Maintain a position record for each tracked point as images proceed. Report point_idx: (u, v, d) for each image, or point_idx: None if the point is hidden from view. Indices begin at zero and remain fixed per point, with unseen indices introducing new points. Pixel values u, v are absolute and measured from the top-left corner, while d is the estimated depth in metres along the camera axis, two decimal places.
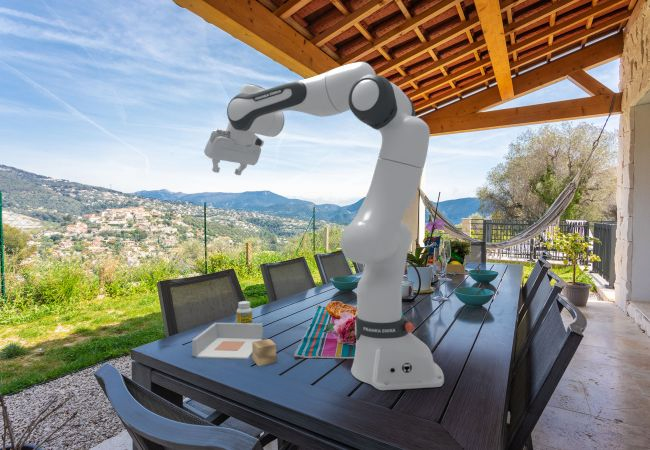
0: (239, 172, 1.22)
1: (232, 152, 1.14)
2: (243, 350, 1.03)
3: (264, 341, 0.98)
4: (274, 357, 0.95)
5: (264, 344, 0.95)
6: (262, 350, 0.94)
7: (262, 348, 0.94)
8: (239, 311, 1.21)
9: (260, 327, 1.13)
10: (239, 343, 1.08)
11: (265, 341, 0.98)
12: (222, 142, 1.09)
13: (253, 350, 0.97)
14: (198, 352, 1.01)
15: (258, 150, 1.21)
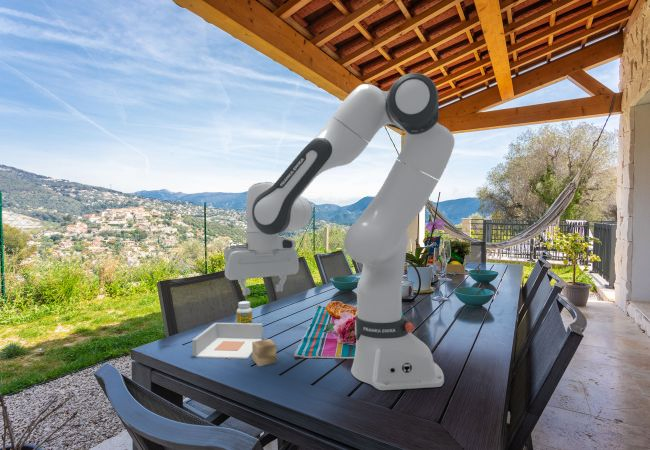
0: (279, 287, 0.98)
1: (258, 265, 0.93)
2: (243, 350, 1.03)
3: (264, 341, 0.98)
4: (274, 357, 0.95)
5: (264, 344, 0.95)
6: (262, 350, 0.94)
7: (262, 348, 0.94)
8: (239, 311, 1.21)
9: (260, 327, 1.13)
10: (239, 343, 1.08)
11: (265, 341, 0.98)
12: (239, 256, 0.91)
13: (253, 350, 0.97)
14: (198, 352, 1.01)
15: (293, 254, 0.98)
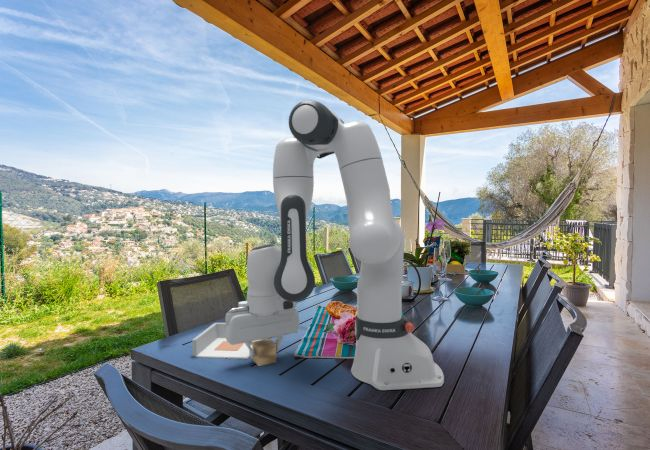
0: None
1: (259, 327, 0.94)
2: (243, 350, 1.03)
3: (264, 341, 0.98)
4: (274, 357, 0.95)
5: (264, 344, 0.95)
6: (262, 349, 0.94)
7: (262, 348, 0.94)
8: None
9: None
10: None
11: (265, 341, 0.98)
12: (240, 321, 0.91)
13: None
14: (198, 352, 1.01)
15: (293, 313, 0.98)
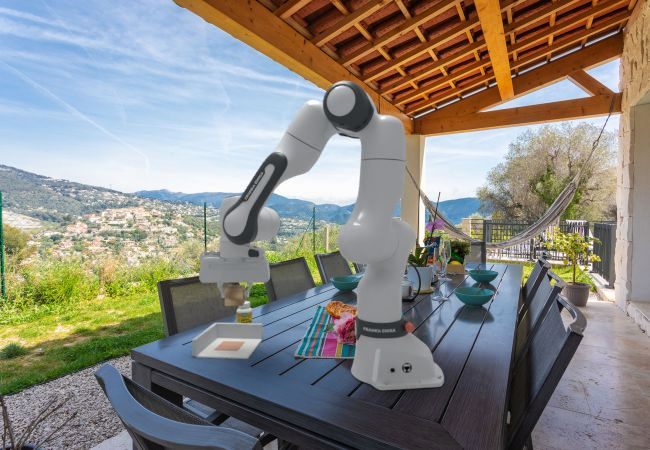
0: (244, 294, 1.03)
1: (227, 271, 1.02)
2: (243, 350, 1.03)
3: (238, 286, 1.05)
4: (240, 300, 1.01)
5: (233, 287, 1.03)
6: (228, 291, 1.01)
7: (229, 290, 1.01)
8: (239, 311, 1.21)
9: (260, 327, 1.13)
10: (239, 343, 1.08)
11: (238, 286, 1.05)
12: (209, 262, 1.01)
13: None
14: (198, 352, 1.01)
15: (261, 263, 1.01)
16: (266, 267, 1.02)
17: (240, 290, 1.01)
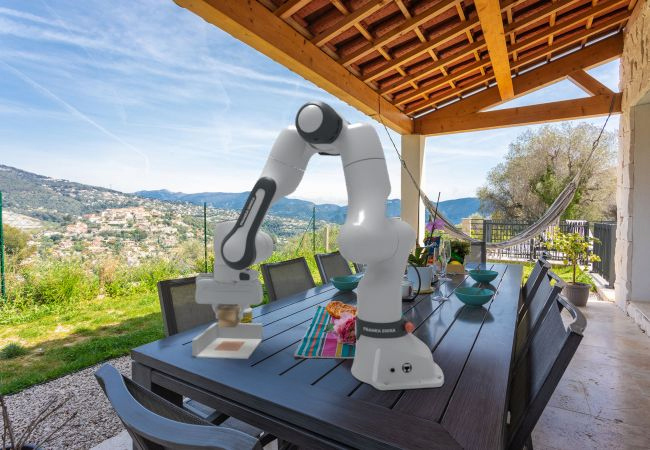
0: (238, 315, 1.05)
1: (220, 293, 1.05)
2: (243, 350, 1.03)
3: (232, 307, 1.08)
4: (233, 322, 1.04)
5: (227, 309, 1.05)
6: (221, 313, 1.04)
7: (222, 311, 1.04)
8: None
9: (260, 327, 1.13)
10: (239, 343, 1.08)
11: (233, 307, 1.08)
12: (204, 284, 1.05)
13: None
14: (198, 352, 1.01)
15: (252, 286, 1.03)
16: (257, 290, 1.03)
17: (232, 312, 1.04)
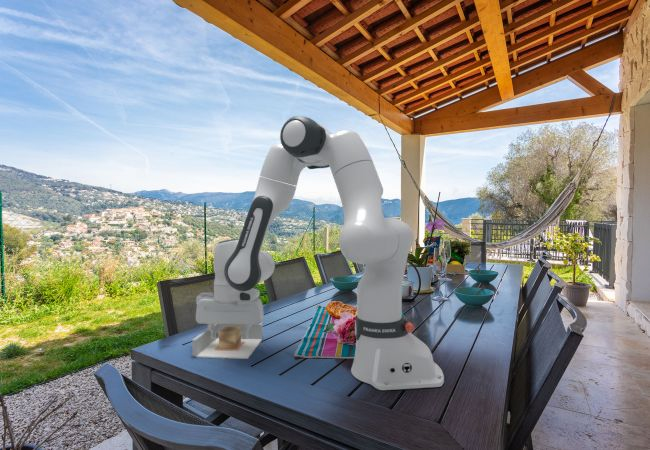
0: (243, 335, 1.05)
1: (221, 313, 1.05)
2: (243, 350, 1.03)
3: (233, 327, 1.08)
4: (233, 343, 1.04)
5: (227, 330, 1.05)
6: (222, 334, 1.04)
7: (222, 333, 1.04)
8: None
9: (260, 327, 1.13)
10: None
11: (233, 328, 1.08)
12: (204, 304, 1.05)
13: None
14: (198, 352, 1.01)
15: (253, 306, 1.03)
16: (257, 310, 1.03)
17: (233, 333, 1.04)
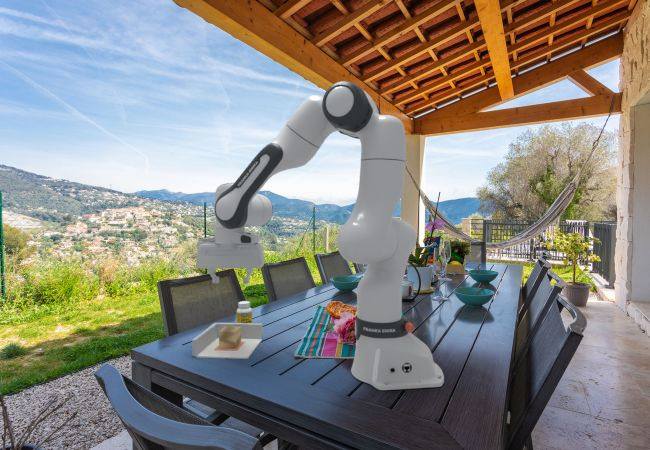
0: (244, 279, 1.05)
1: (221, 257, 1.05)
2: (243, 350, 1.03)
3: (233, 327, 1.08)
4: (233, 343, 1.04)
5: (227, 330, 1.05)
6: (222, 334, 1.04)
7: (222, 333, 1.04)
8: (239, 311, 1.21)
9: (260, 327, 1.13)
10: None
11: (233, 328, 1.08)
12: (205, 248, 1.05)
13: None
14: (198, 352, 1.01)
15: (253, 249, 1.03)
16: (258, 253, 1.03)
17: (233, 333, 1.04)
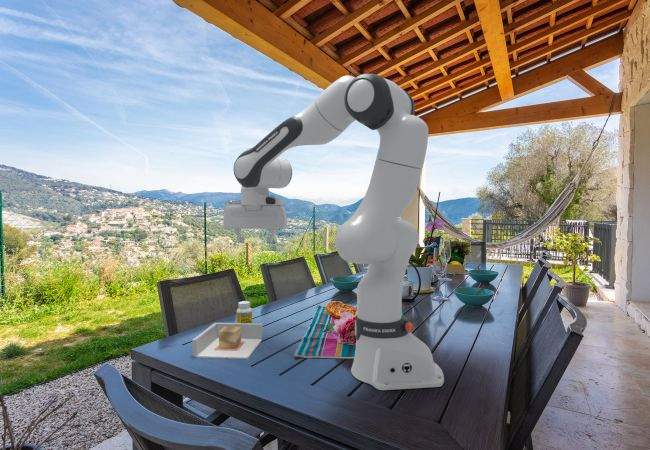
0: (268, 239, 1.12)
1: (247, 218, 1.12)
2: (243, 350, 1.03)
3: (233, 327, 1.08)
4: (233, 343, 1.04)
5: (227, 330, 1.05)
6: (222, 334, 1.04)
7: (222, 333, 1.04)
8: (239, 311, 1.21)
9: (260, 327, 1.13)
10: None
11: (233, 328, 1.08)
12: (231, 210, 1.12)
13: None
14: (198, 352, 1.01)
15: (277, 210, 1.10)
16: (282, 214, 1.10)
17: (233, 333, 1.04)
